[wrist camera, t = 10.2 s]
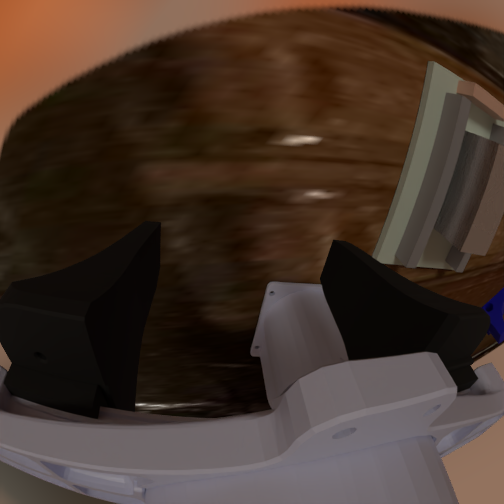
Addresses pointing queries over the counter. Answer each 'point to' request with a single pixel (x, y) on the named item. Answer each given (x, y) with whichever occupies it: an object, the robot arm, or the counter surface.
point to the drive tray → (435, 170)
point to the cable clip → (496, 316)
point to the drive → (474, 196)
